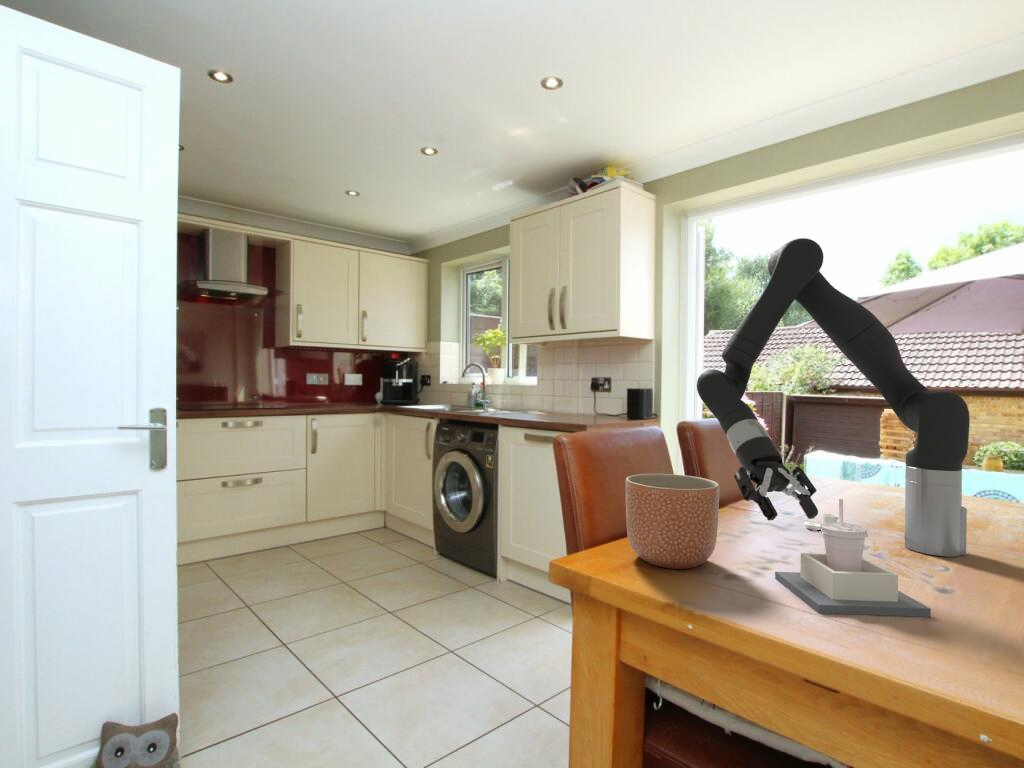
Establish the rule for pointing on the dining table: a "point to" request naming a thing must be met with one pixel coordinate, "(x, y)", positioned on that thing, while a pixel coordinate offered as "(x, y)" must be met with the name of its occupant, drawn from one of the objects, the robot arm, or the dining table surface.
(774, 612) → the dining table surface
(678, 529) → the planter
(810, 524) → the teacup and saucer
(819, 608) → the socket board
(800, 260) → the robot arm
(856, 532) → the smoothie
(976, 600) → the dining table surface
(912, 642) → the dining table surface
